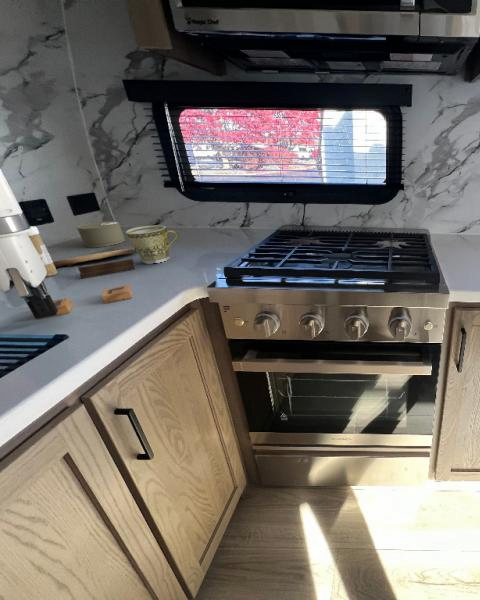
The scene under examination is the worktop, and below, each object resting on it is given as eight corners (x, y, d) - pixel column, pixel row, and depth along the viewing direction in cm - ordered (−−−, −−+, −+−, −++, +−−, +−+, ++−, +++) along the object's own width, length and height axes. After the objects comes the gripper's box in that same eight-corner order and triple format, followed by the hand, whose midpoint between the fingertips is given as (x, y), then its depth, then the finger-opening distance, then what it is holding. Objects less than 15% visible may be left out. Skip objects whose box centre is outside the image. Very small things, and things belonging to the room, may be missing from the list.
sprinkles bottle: (33, 279, 91) (7, 230, 85) (41, 273, 94) (17, 226, 89) (54, 276, 92) (30, 228, 86) (62, 271, 96) (39, 225, 90)
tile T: (38, 319, 70) (33, 311, 69) (43, 310, 73) (39, 302, 73) (69, 312, 72) (65, 304, 72) (73, 304, 76) (69, 297, 75)
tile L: (105, 303, 76) (101, 296, 75) (106, 296, 80) (103, 289, 79) (131, 298, 79) (128, 290, 78) (132, 291, 83) (129, 284, 82)
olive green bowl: (84, 243, 123) (75, 224, 120) (124, 237, 130) (117, 219, 127) (85, 250, 115) (76, 230, 112) (127, 243, 122) (120, 224, 119)
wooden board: (138, 248, 116) (137, 245, 115) (140, 254, 108) (139, 251, 108) (41, 264, 102) (39, 261, 102) (35, 272, 95) (34, 269, 95)
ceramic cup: (130, 267, 98) (117, 234, 94) (148, 256, 107) (137, 226, 103) (177, 264, 100) (167, 231, 96) (191, 254, 109) (181, 224, 105)
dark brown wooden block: (81, 278, 90) (76, 269, 89) (82, 275, 93) (78, 266, 92) (134, 269, 97) (131, 260, 96) (135, 266, 99) (131, 258, 98)
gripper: (-18, 222, 63) (31, 307, 71) (-51, 238, 52) (10, 337, 60) (36, 216, 67) (76, 298, 75) (16, 231, 56) (65, 324, 64)
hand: (47, 315), depth 68 cm, fingers closed
